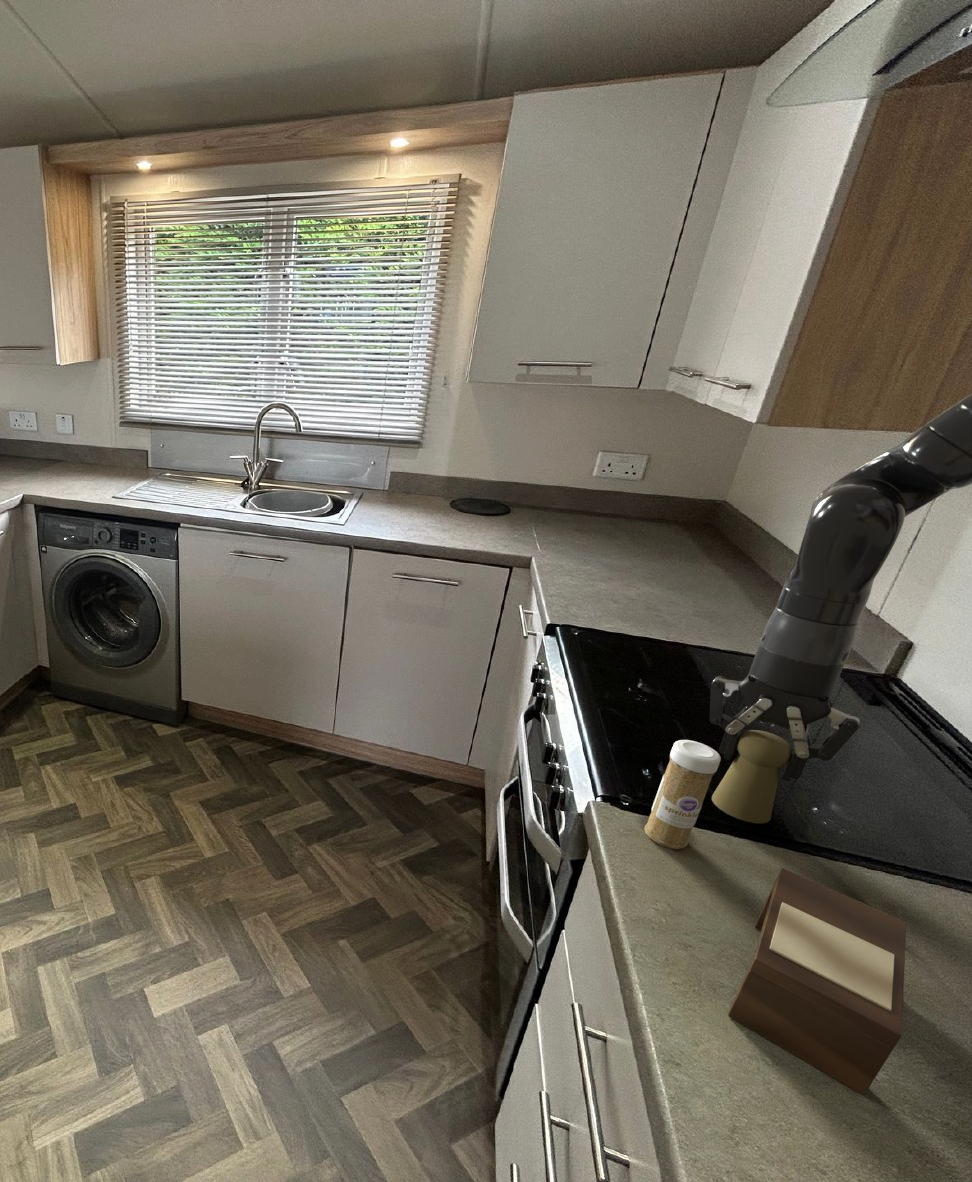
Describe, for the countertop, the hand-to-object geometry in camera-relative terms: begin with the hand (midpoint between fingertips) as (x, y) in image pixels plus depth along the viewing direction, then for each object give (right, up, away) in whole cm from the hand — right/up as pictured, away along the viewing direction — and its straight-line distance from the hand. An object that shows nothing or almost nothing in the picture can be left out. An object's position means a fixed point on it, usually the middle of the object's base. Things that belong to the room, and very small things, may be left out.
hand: (756, 766), depth 81 cm
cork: (0, -6, +2) cm, 7 cm away
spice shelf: (-14, -16, -20) cm, 30 cm away
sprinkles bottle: (-12, -9, -1) cm, 15 cm away
